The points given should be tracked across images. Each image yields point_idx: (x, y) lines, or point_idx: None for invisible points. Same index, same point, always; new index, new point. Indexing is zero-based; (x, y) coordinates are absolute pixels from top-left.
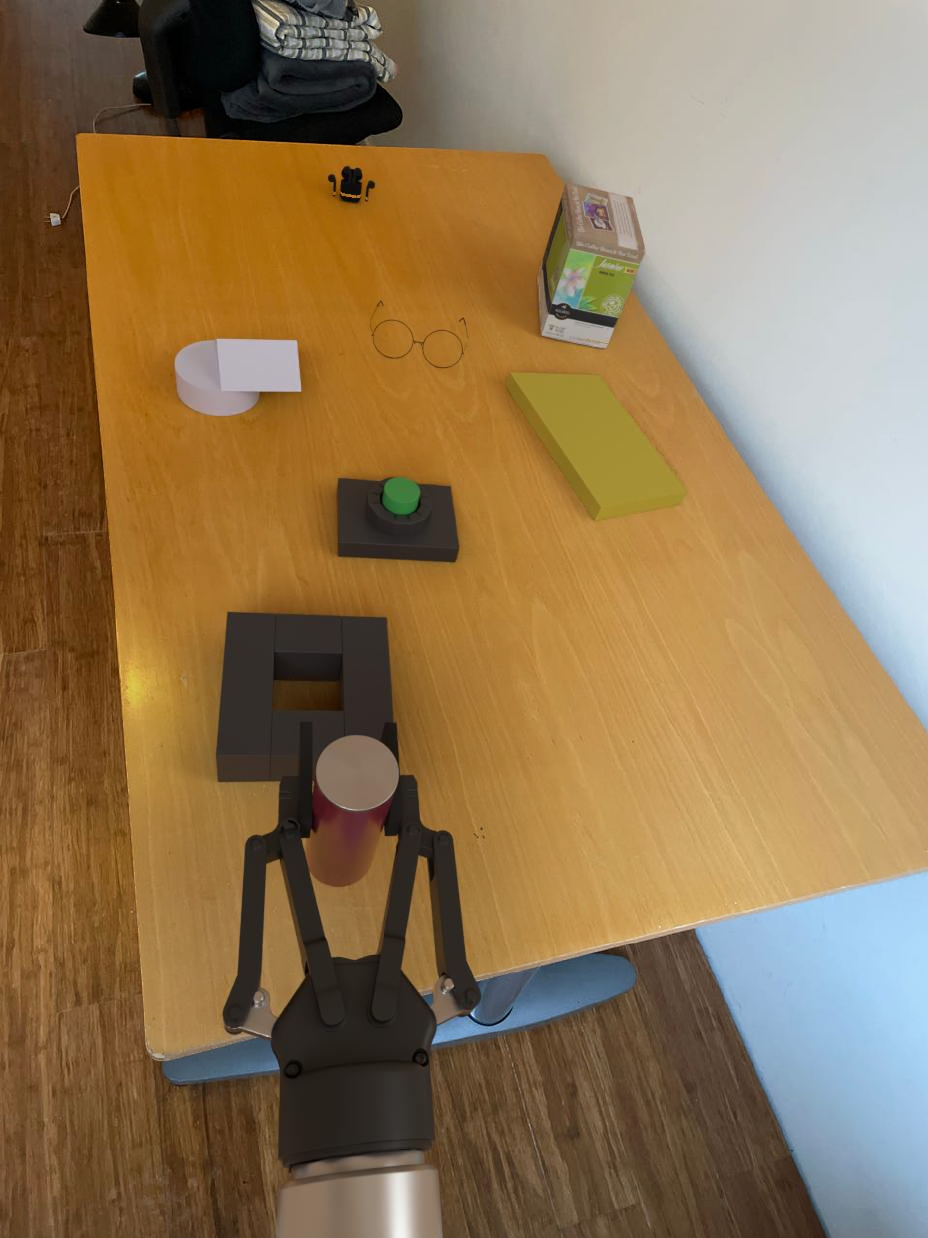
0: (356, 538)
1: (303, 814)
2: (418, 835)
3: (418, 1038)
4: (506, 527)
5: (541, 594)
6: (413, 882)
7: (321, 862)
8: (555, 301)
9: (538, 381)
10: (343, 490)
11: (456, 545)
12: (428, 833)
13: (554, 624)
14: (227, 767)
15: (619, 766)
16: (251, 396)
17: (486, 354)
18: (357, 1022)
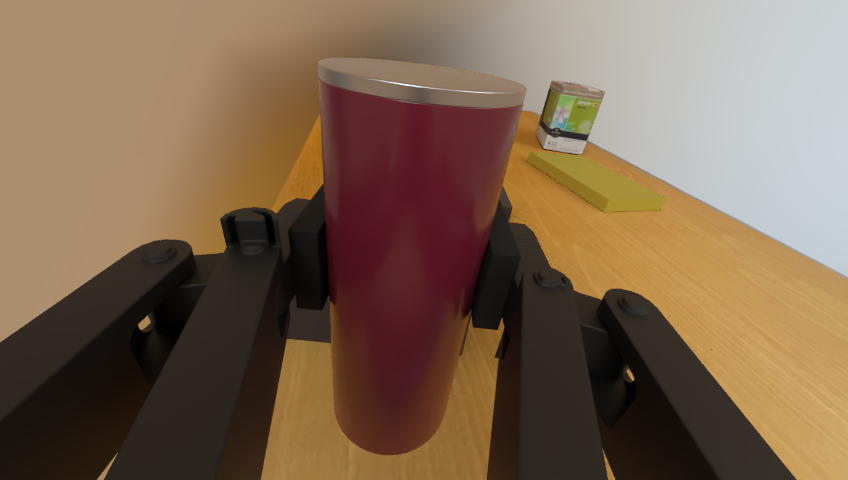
0: None
1: (302, 223)
2: (565, 289)
3: None
4: (541, 209)
5: (578, 242)
6: (590, 395)
7: (346, 382)
8: (551, 126)
9: (547, 155)
10: None
11: (509, 206)
12: (581, 301)
13: (594, 259)
14: (293, 315)
15: (709, 371)
16: None
17: (513, 152)
18: None
